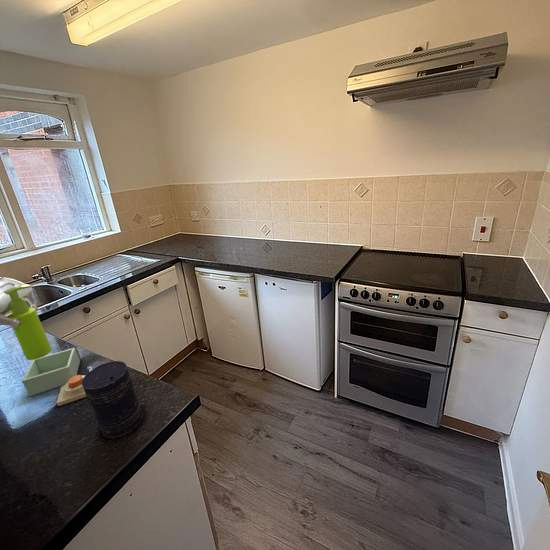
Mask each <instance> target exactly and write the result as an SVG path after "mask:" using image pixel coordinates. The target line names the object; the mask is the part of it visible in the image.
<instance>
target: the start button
mask: <svg viewBox="0 0 550 550" xmlns="http://www.w3.org/2000/svg"><path fill="white" fill-rule="evenodd" d="M82 376H83V375H82V374H77V375H76V376H74V377H72V378H70V379H69V380H68V384H69V386H70V388H75V387H78V386H79V385H81V384H82V380H83V378H82Z"/></svg>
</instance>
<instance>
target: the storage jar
mask: <svg viewBox="0 0 550 550" xmlns="http://www.w3.org/2000/svg"><path fill="white" fill-rule="evenodd" d="M133 382H134V381H133V379H132V376H131V373H130V371H129V368H128V365H127V363H125V362H124V361H122V360H121V361H120V360H114V361H110V362H106V363H103V364H100V365H98V366H96V367H94V368H93V369H91V370H90V371H89V372H87V373H86V374H85V377H84V378H83V380H82V386H83V388H84V391H85V395H86V397H85V398H86V399H87V403H89V405H90V406H91V407H92V409H93V411H94V417H95V419H96V423H97V425H98V427H99V429H100V431H101V433H102V435H103V436H104V437H105V438H108V439H115V438H120V437H123V436H125V435H127V434H129V433H130V432H132V431H133V430H134V429H136V428H137V426H139V425H140V423H141V422H142V419H143V417H144V411H143V409H142V406H141V405H142V404H141V402H140V399H139V398H138V395H137V393H136V392H135V389H134V383H133Z"/></svg>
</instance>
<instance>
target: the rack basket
mask: <svg viewBox="0 0 550 550" xmlns="http://www.w3.org/2000/svg"><path fill="white" fill-rule="evenodd" d="M80 363H81V359H80V357H79V354H78V351H77V350H76V347H72V348H69V349H65V350H62V351H58V352H54V353H52V354H47V355H45V356H43V357H41V358H38V359H35V360H31V363H30V365H29V366H28V368H27V371H26V372H25V374H24V377H23V378H22V380H21V383H22V385H23V386H24V387H25V388H24V389H25V390H26V392H27V394H28V396H29V397H31V396H34V395H37V394H41V393H43V392H47V391H50V390H53V389H56V388H59V387H62V386H63V385H65V384H66V383H67V382H68V380H69V379H70V378H72V377H74V376H76V375H78V370H79V367H80Z"/></svg>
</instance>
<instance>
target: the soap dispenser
mask: <svg viewBox="0 0 550 550" xmlns="http://www.w3.org/2000/svg"><path fill="white" fill-rule="evenodd" d="M30 287H31V288H32V285H30V284H26V285H23V286H18V287H14V288H11V289H9V290H6V291H4V293H5V294H7V295H8V294H9V296H10V298H11V301H10V302H9V306H10V308H11V311H10V312H11V313H10V314H8V315H7V318H11V319H14V318H17V319H19V320H21V321H22V322H21V324H20V325H19V326H18V327H17V328H13V327H11V328H12V330H13V332H14V334H15V336H16V339H17V341H18V343H19V346H20V348H21V349H22V352H23V354H24V357H25V359H26V360H27V361H33V360H35V359H38V358H41V357H44V356H47V355H50V353H51V352H52V346H51V344H50V342H49V340H48V337H47V334H46V332H45V330H44V327H43V325H42V322H41V320H40V317H39V315H38V312H36V310H35V308H28V306H27V304H26V301H25V299H23V298H19V295H18V293H17V291H18V290H21V289H25V288H30Z"/></svg>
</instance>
